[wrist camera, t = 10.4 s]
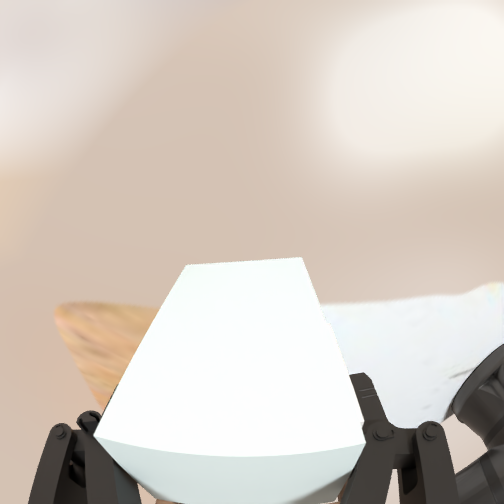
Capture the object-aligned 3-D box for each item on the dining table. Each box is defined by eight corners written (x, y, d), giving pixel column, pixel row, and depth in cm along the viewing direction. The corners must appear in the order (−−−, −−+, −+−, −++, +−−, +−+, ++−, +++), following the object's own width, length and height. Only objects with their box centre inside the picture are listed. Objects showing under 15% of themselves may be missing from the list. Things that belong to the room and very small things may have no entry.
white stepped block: (186, 264, 19) (93, 435, 6) (301, 257, 19) (365, 442, 6) (229, 441, 27) (219, 543, 14) (296, 439, 27) (305, 542, 13)
